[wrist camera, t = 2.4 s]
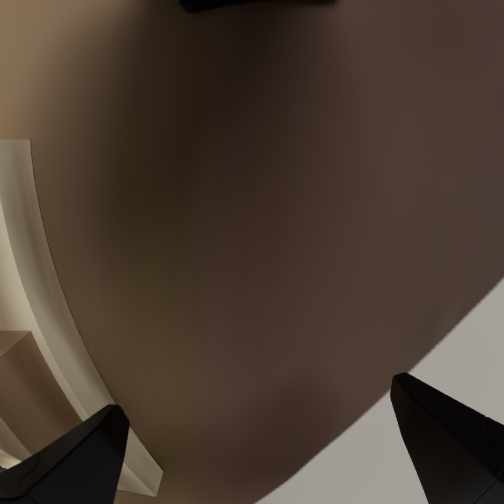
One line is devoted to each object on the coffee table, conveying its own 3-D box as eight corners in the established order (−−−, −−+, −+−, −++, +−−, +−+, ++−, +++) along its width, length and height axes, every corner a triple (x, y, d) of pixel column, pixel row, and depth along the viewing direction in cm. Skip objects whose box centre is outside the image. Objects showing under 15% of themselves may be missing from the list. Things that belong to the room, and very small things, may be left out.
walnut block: (30, 330, 9) (-24, 379, 5) (82, 421, 11) (51, 475, 7) (-19, 329, 10) (-62, 363, 6) (24, 406, 11) (-6, 445, 7)
